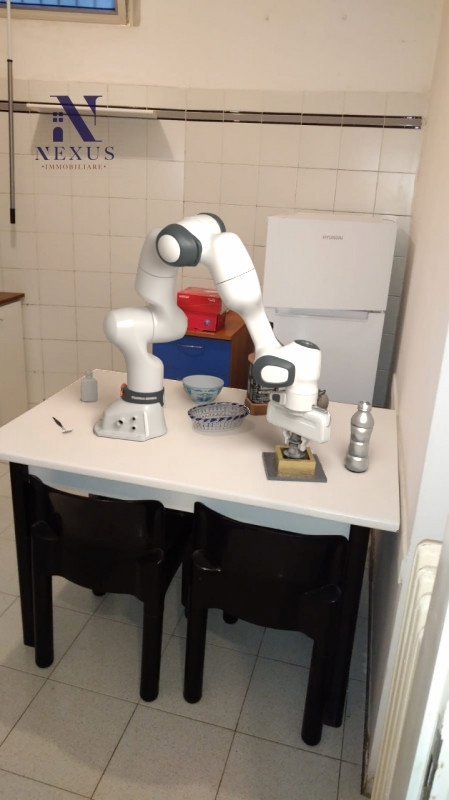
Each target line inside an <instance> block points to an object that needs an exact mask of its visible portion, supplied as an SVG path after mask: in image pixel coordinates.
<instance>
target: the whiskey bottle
mask: <svg viewBox="0 0 449 800" xmlns="http://www.w3.org/2000/svg"><path fill="white" fill-rule="evenodd" d="M269 322H270V325H271V327H272V329H273V330H274V322H273V321H270V320H269ZM247 359H248V362H249V363H248V373H247V385H246V395H245V397H244V403H243V406H244V405H245V406H246V407H248V408H249V410H250V413H248V414H249V415H251V416H267V408H268V403H269V402H270V401H271V400H270V393H272V392H275V391H279V389H280V388H265V387H262V386H260V385H259V384H258V383H257V382H256V381H255V380H254V378H253V375H252V367H253V363H254V360H255V351H253V352H251V353H249V354H248V357H247Z"/></svg>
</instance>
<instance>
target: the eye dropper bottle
mask: <svg viewBox="0 0 449 800" xmlns="http://www.w3.org/2000/svg"><path fill="white" fill-rule="evenodd" d="M93 373H94V372H93V371H92V370H91V368H90V367H87V369H86V371H85V373H84V374H85V375H84V377H83V378H82V379H81V380H80V400H81V401H82V402H84V403H90V402H92V401H93V402H96V401H98V397H99V396H98V395H99V391H98V379H97V378H95V377H93Z"/></svg>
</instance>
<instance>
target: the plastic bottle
mask: <svg viewBox="0 0 449 800" xmlns="http://www.w3.org/2000/svg"><path fill="white" fill-rule="evenodd" d="M372 407H373V403H372V402H370V401H367V400H360V401H358V404H357V410H356V411H355V412H354V413H353V414H352V415H351V417H350V435H349V437H350V438H349V444H348V448H347V452H346V454H345V458H344V463H345V467H346V468H347V469H348V470H350V471H353V472H358V473H360V472H365V471H366V470H367V468H368V466H369V461H370V460H369V459H370V458H369V448H370V447H369V446H370V440H371V437H372V432H373V429H374V426H375V419H374V416H373V414H372V413H371V412H372Z"/></svg>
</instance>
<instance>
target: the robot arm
mask: <svg viewBox="0 0 449 800" xmlns="http://www.w3.org/2000/svg"><path fill="white" fill-rule="evenodd" d="M143 241H144V242H143V245H142V248H141V252H140V254H139V257H138V258H139V259H138V264H137V268H136V269H137V270H136V273H135V274H136V275H135V280H134V289H135V293H136V294H137V295H138V296H139V298H140V299H142V300H143V301H145V302H147V303H148V304H147V305H145V306H126V307H120V308H116V309H112V310H109V311H108V312H107V313H106V315H105V317H104V318H103V323H102V331H103V333H104V335H105V337H106V340H107V341H109V342H110V343H111V344H112V345H114V346H115V347H116V348H118V350H119V351H120V352H121V354H122V356H123V359H124V362H125V367H126V383H125V382H123V383H121V385H120V390H119V392H120V395H119V396H120V397H119V398H118V399H116V400H115V401H113V402H111V403H110V404H109V405H107V406H106V408H105V409H104V411H103V413H102V416H101V418H100V419H99V420H97V422H95V426H94V428H93V429H94V431H93V432H94V434H95V435H96V436H99V437H103V438H111V439H121V440H129V441H137V442H145V441H147V440H149V439H153V438H157V437H161V436H163V435H165V434H167V432H168V427H167V424H166V418H165V410H164V408H165V406H164V405H165V401H166V399H165V398H166V391H165V386H164V377H165V376H164V372H165V369H164V366H165V365H164V363H163V361H162V360H161V359H160V358H159V357H157V356H156V355H154V354H153V353H150V352H148V345H149V344H160V343H161V344H163V343H170V342H174V341H177V340H181V339H182V338H183V337H184V336H185V335H186V332H187V330H188V325H189V324H188V318H187V315H186V313H185V312H184V311H183V309H181V307H179V306H178V305H177V303H176V300H175V288H176V282H177V277H178V273H179V268H184V267H185V268H187V267H192V268H193V267H197V266H198V265H199V264H202V265H204V266H205V267H206V268H207V269H208V272H209V274H210V275H211V279H212V281H213V285H214V287H215V289H216V291H217V293H218V295H219V297H220V299H221V300H222V302H223V304H224V305H225V306H226V308H228V309H229V310H230V311H233V312H235V313H237V314H238V315H239V316H240V318H241V319H242V320H243V321H244V323H245V326H246V328H247V329H246V330H247V331H248V333H249V335H250V338H251V340H252V343H253V346H254V352H255V360H254V363H253V367H252V375H253V378H254V380H255V381H256V382H257V383H258V384H259V385H260V386H262V387H265V388H279V389H280V390H279V391H275V392H272V393H270V400H271V401H270V402H269V403H268V408H267V415H266V420H267V422H268V423H269V424H271V425H275V426H277V427H279V428H280V429H281V428H282V434H283V436H284V439H285V440H284V444H285V445H286V446H290V441H289V439H291V432H293V433H295V434H297V435H300V436H301V440H302V443H300V444H298V450H300V451H305V449H306V447H307V444H308V443H309V442H310V441H312V442H314V443H317V444H320V445H322V444H325V443H327V442H329V441H330V439H331V435H332V434H331V432H332V427H331V426H332V425H331V424H332V423H331V422H332V415H331V414H330V412H329V411H328V409H327V410H326V409H322V408H320V407H318V406H317V398H318V388H319V386H318V385H319V381H320V378H321V373H322V351H321V349H320V347H319V346H318V345H317V344H315V343H314V342H312V341H309V340H305V339H294V340H293V341H292V342H290V343H287V344H286V345H285V344H284V343H282V342H281V341H280V339H278V338H277V336H276V334H275V332H274V328H273V329H272V327H271V325H270V322H271V321H270V320H269V317H268V315H267V313H266V310H265V306H264V303H263V302H264V301H263V294H262V289H261V284H260V280H259V276H258V272H257V270H256V267H255V265H254V263H253V262H254V261H253V260H252V258H251V256H250V254H249V252H248V250H247V248H246V247H245V244H244V243H243V241H242V239H241V238H240V237H239V235H237V234H236V233H234V232H230V231H227V228H226V224H225V223H224V221H223V219H222V218H221V217H220V216H218V215H217V214H215V213H212V212H199V213H196V214H194V215H189V216H185V217H183V218H182V219H179V220H177V221H175V222H174V223H170V224H168V225H166V226H165V227H164V226H163V227H162V226H159V227H158V226H157V227H154V228H152V229H151V230H150V231H148V233H147V234H146V237H145V239H144V240H143ZM269 321H270V322H269ZM281 388H284V389H281Z"/></svg>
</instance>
